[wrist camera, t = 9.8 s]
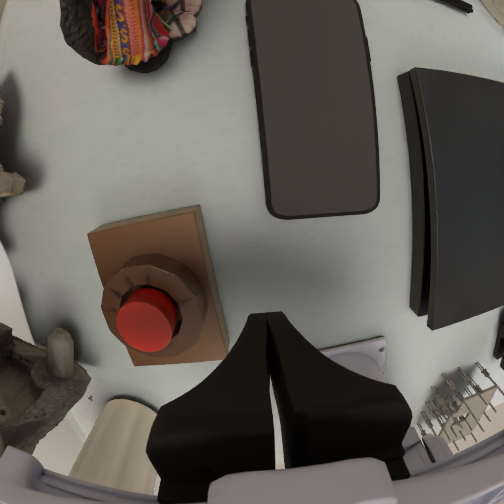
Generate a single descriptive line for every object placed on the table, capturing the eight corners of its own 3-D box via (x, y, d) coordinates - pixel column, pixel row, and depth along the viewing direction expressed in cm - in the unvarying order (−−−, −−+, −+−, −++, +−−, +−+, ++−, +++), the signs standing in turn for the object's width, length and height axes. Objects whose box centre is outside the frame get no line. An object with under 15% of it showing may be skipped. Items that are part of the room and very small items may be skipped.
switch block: (229, 340, 22) (227, 376, 18) (142, 349, 22) (127, 382, 18) (199, 204, 19) (188, 218, 15) (101, 225, 19) (72, 242, 15)
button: (184, 332, 17) (178, 350, 16) (135, 337, 17) (127, 353, 16) (169, 283, 16) (162, 298, 15) (119, 290, 16) (107, 305, 15)
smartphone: (266, 223, 18) (243, -11, 13) (265, 219, 19) (243, -4, 14) (382, 213, 18) (359, -7, 13) (376, 210, 19) (354, -2, 14)
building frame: (414, 424, 26) (433, 462, 21) (435, 373, 24) (463, 413, 18) (456, 410, 26) (477, 443, 21) (479, 359, 24) (508, 392, 18)
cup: (165, 392, 23) (127, 542, 10) (182, 445, 26) (164, 566, 12) (85, 384, 23) (23, 504, 10) (112, 436, 26) (75, 542, 12)
